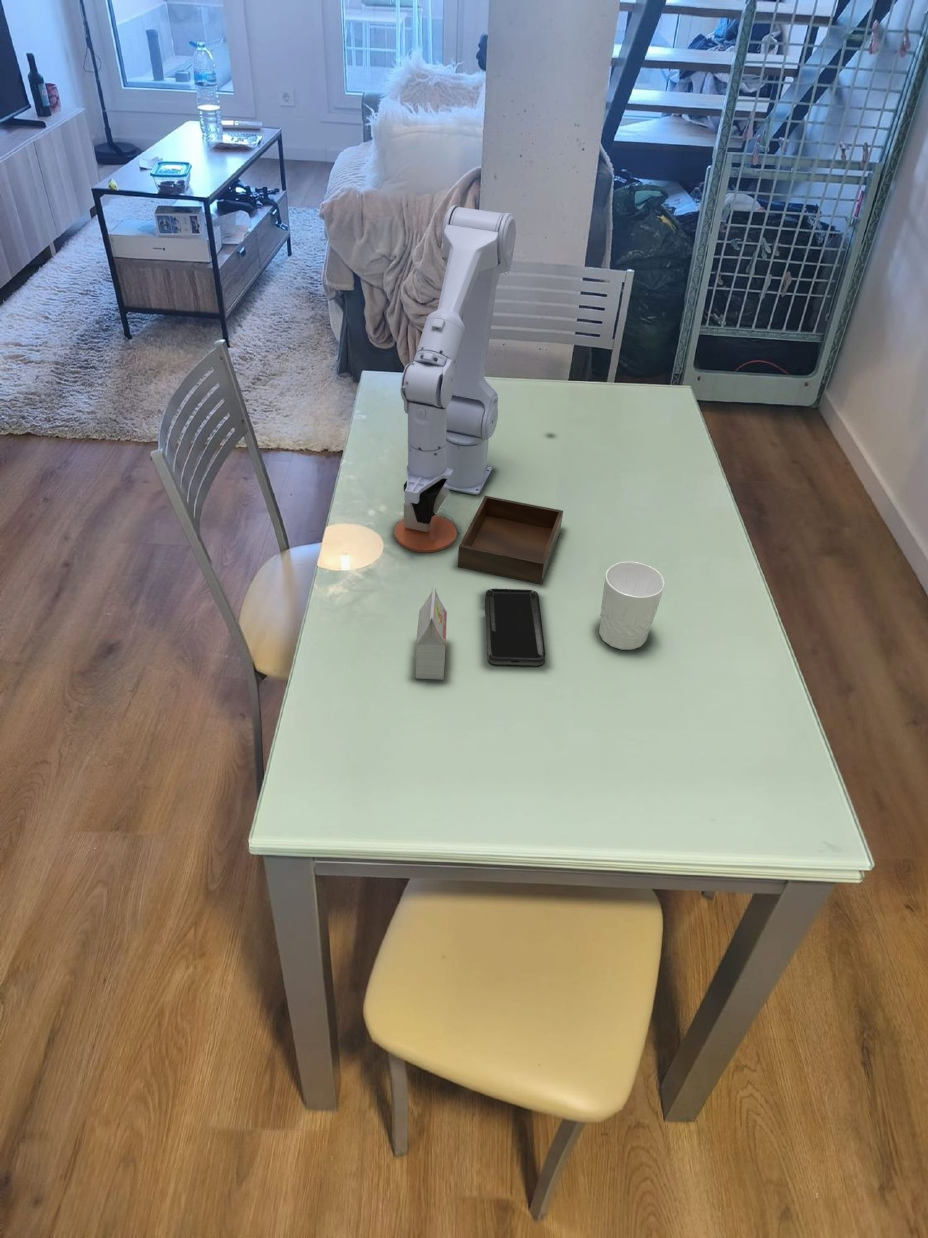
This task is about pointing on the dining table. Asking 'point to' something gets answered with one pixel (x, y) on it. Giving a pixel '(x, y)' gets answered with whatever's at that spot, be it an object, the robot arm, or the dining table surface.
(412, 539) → the coaster
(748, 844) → the dining table surface
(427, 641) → the milk carton
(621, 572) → the white cup
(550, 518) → the tray
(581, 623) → the dining table surface
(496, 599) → the phone
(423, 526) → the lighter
